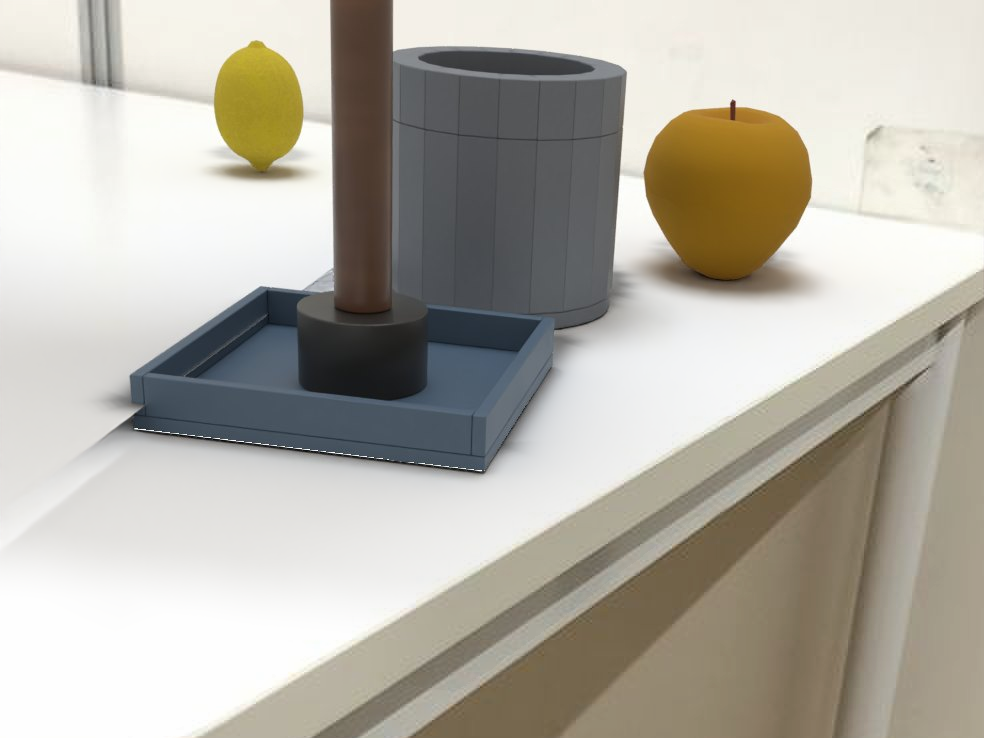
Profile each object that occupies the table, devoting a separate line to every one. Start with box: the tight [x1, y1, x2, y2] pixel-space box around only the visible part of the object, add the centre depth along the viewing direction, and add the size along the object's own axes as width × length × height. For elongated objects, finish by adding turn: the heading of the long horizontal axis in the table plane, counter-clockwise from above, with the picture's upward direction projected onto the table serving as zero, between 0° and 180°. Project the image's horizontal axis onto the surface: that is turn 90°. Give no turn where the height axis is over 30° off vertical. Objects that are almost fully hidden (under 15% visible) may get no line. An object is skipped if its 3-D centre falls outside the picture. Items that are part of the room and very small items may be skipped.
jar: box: [392, 45, 628, 330], centre depth 71 cm, size 11×11×11 cm
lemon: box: [213, 39, 304, 172], centre depth 95 cm, size 6×6×8 cm
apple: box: [643, 99, 813, 281], centre depth 79 cm, size 9×9×9 cm
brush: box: [297, 0, 428, 401], centre depth 55 cm, size 5×5×15 cm
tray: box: [129, 285, 555, 471], centre depth 59 cm, size 13×13×2 cm
